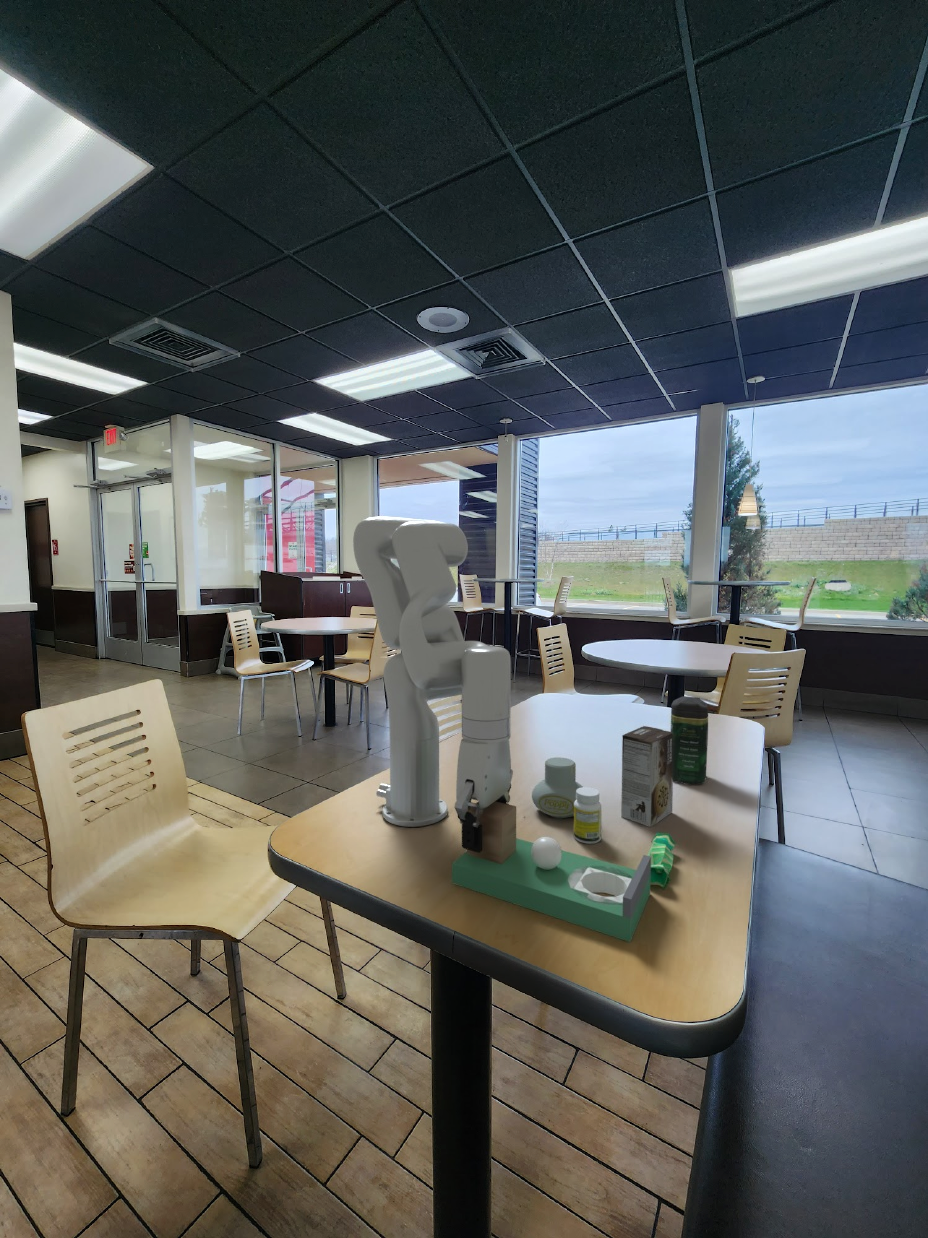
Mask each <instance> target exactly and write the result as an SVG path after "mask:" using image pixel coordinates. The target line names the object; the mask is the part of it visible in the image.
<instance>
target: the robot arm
mask: <svg viewBox="0 0 928 1238" xmlns="http://www.w3.org/2000/svg"><path fill="white" fill-rule="evenodd" d="M352 542H353V544H352V545H353V552H354V553H353V554H354V560H355V562H356V565H357V568H358V570H359V572H360V574H361V577H362V579H363V580H364V582H365V584H366V587H367V588H368V590H369V594H370V596H371V601H372V605H373V610H374V613H375V617H376V621H377V624H378V629H379V632H380V635H381V639H382V641H383V643H384V644H385V646H387V647H388V648H389V649H391V650H399V651H401V652H400V653H398V654H394V655H393V656H391V657H390V658H389V659H388V660H387V662H386V663H385V664H384V668H383V682H384V687H385V688H384V689H385V693H386V698H387V705H388V706H387V707H388V718H389V719H388V721H389V722H388V723H389V724H388V725H389V727H388V728H389V783H385V782H381V783H380V784H379V786H378V787H379V788H378V789H377V790H376V796H377V797H379V798H383V799H385V804H384V805H383V807H382V810H381V811H382V814H383V815H382V817H383V818H385V819H386V820H385V819H384V820H385V821H387V822H388V823H390V824H392V825H395V826H399V827H400V826H401V827H407V828H408V827H409V828H410V827H411V828H412V827H413V828H414V827H424V826H430V825H432V824H433V825H434V824H436V823H438V822H440V821H442V820H443V819H445V818H446V816H447V815H448V804H447V802H446V801H444V800H442V799H441V798H440V724H439V719H438V717H437V715H436V714H435V712H434V711H433V710H432V708H431V707H430V706H429V704H428V702H429V701H431V700H436V699H443V698H451V697H457V696H461V739H460V743H459V750H458V756H457V767H456V788H455V796H456V799H455V800H456V801H455V803H454V810H455V812H456V814H457V818H458V820H459V823H460V824H461V847H462V848H463V850H466V851H467V850H470V851H474V852H477V853H480V852H481V851H482V825H479V824H480V820H481V817H482V813H483V809H484V808H486V807H488V806H489V805H490V804H492V803H493V802H495V801H496V802H500V803H505V804H510V802H511V801H510V800H511V795H510V792H511V789H512V780H513V779H512V778H513V774H514V770H513V769H512V761H511V760H512V758H511V746H510V739H511V737H512V736H511V734H512V731H511V729H512V728H511V725H512V724H511V717H512V713H511V709H512V708H511V706H512V703H511V702H512V701H511V700H512V699H511V695H512V693H511V692H512V691H511V689H512V688H511V687H512V686H511V684H512V683H511V677H512V676H511V671H512V669H511V661H512V660H511V659H512V658H511V655H510V651H509V650H508V649H506V648H504V647H501V646H494V645H493V646H491V645H487V644H486V643H484V642H482V641H478V640H464V636H463V633H462V630H461V626H460V622H459V620H458V617H457V615H456V613H455V611H454V610H453V609H452V607H450V606H449V605H448V603H450V601H452V599H453V598H454V597H455V594H456V593H457V585H456V582H455V579H454V577H453V574H452V571H451V569H450V568H455V567H458V566H461V565H462V564H463V563H464V562H465V560H466V559H467V556H468V551H469V546H468V541H467V537H466V535H465V532H463V530H462V528H460V527H459V525H456V524H455V523H450V522H444V521H437V520H432V519H424V518H411V517H410V518H409V517H408V518H407V517H396V516H373V517H367V518H365V519H362V520H361V521H360V522H359V523H358V524H357V525H356V526H355V529H354V533H353V541H352ZM392 560H397V563H398V566H397V565H396V564H395V563H394V562H393V561H392ZM472 800H475V801H476V802H472ZM478 801H479V804H477V802H478ZM470 808H475V809H476V813H475V817H474V816H473V815H472V813H471V812H469V810H470Z"/></svg>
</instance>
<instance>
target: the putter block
mask: <svg viewBox="0 0 928 1238" xmlns="http://www.w3.org/2000/svg"><path fill="white" fill-rule="evenodd" d="M476 803H477V804H479V801H476ZM469 812H471V813H472V815H473V816H474V817H475V813H476V809H475V808H470V810H469ZM479 825H482V851H481V852H480V853H477V852H474V851H470V850H467V849H466V851H467V854H468V855H471V856H475V857H478V858H482V859H485V860H488V861H492V862H495V863H499V864H503V863H504V862H505V861H506V860H507V859H508V858H509V857H510V856H511V855H512V854H513V853H514V852H515V851H516V838H517V805H514V804H513V805H512V804H510V803H507V804H505V803H500V802H496V801H495V802H493V803H492V804H490V805H489V806H488V807H486V808H484V809H483V813H482V817H481V820H480V824H479Z"/></svg>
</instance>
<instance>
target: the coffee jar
mask: <svg viewBox="0 0 928 1238" xmlns="http://www.w3.org/2000/svg"><path fill="white" fill-rule="evenodd" d="M708 705H709V704H707V702H706V701H704V700H703V699H701V698H700V697H695V696H693V697H692V696H684V695H683V696H681V697H678V698H676V699H674V700H673V701H672V703H671V705H670V707H671V710H670V712H671V713H670V732H673V781H677V782H679V783H681V784H684V783H685V785H697V784H699V785H702V784H704V783H705V781H706V779H707V768H708V767H707V766H708V765H707V763H708V762H707V761H708V746H709V745H708V741H709V706H708Z"/></svg>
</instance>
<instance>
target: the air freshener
mask: <svg viewBox="0 0 928 1238" xmlns="http://www.w3.org/2000/svg"><path fill="white" fill-rule="evenodd" d="M576 774H577V773H576V762H575V761H574V760H573V759H571V758H567V757H558V756H556V757H550V758H547V760H545V762H544V779H543V780H541V781H539V782H538V783H537V784H535V786H534V787H533V789H532V791H531V799H532V802H533V804H534V806H535V807H536V808H537V809H538V810H539V811H541V812H542V813H544V814H546V815H547V816H550V817H552V818H555V819H567V818H571V817H574V802H575V800H576V790H577V789H578V788H581V787H584V786H583V785H582V784H580V783H579V782H577V781H576V780H577V779H576Z"/></svg>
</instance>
